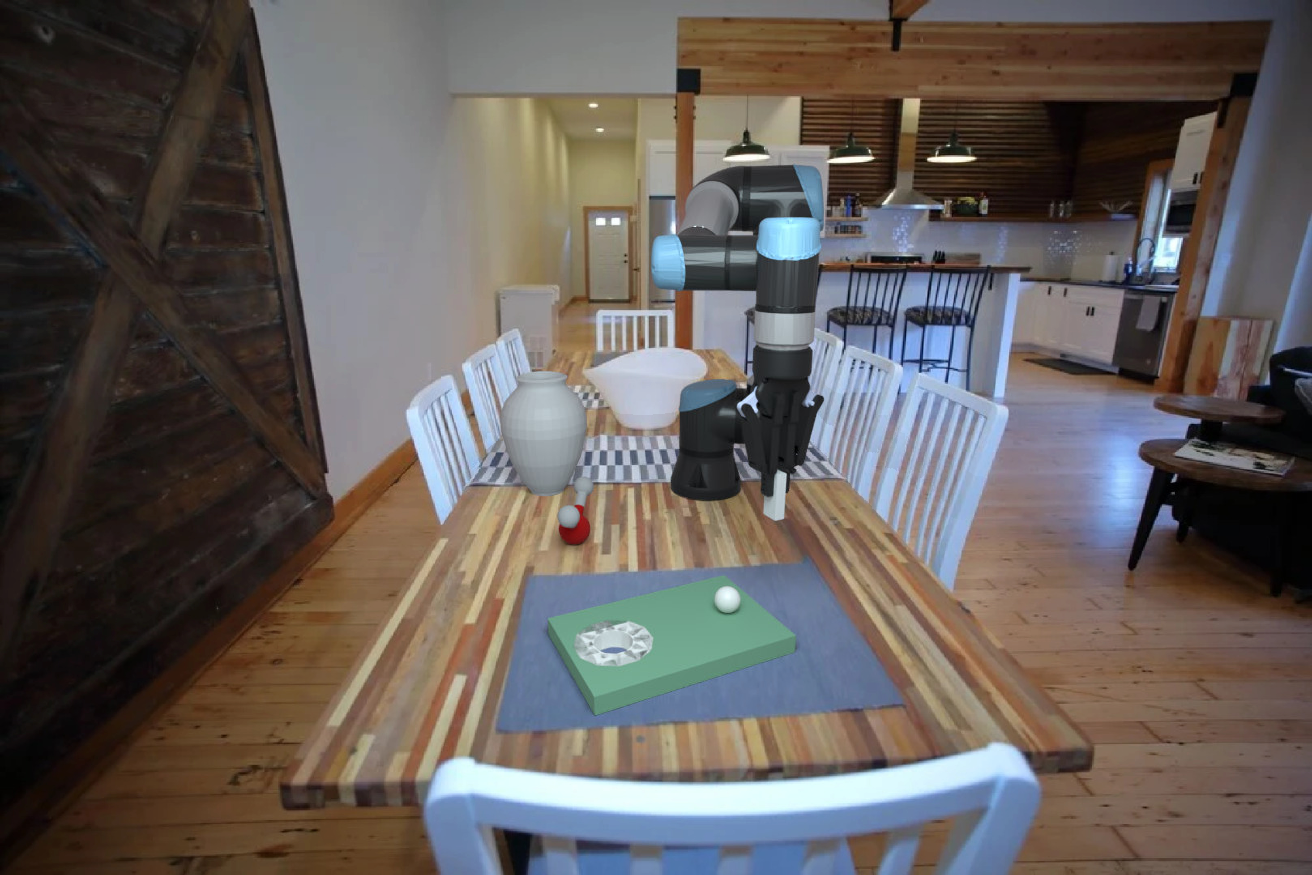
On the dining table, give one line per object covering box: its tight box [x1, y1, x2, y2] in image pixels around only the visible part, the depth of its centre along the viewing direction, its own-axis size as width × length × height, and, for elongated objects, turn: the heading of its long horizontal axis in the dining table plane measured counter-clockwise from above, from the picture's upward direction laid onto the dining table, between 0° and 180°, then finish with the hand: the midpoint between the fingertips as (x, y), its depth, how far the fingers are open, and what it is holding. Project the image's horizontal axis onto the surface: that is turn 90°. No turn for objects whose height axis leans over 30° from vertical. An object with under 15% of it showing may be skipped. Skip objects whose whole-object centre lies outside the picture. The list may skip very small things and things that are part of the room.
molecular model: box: [556, 476, 595, 546], centre depth 118 cm, size 18×6×10 cm, turn 175°
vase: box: [499, 370, 588, 497], centre depth 140 cm, size 18×18×25 cm
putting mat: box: [547, 574, 797, 716], centre depth 90 cm, size 28×18×2 cm, turn 116°
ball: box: [714, 586, 741, 613], centre depth 92 cm, size 4×4×4 cm
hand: (773, 516), depth 92 cm, fingers closed
